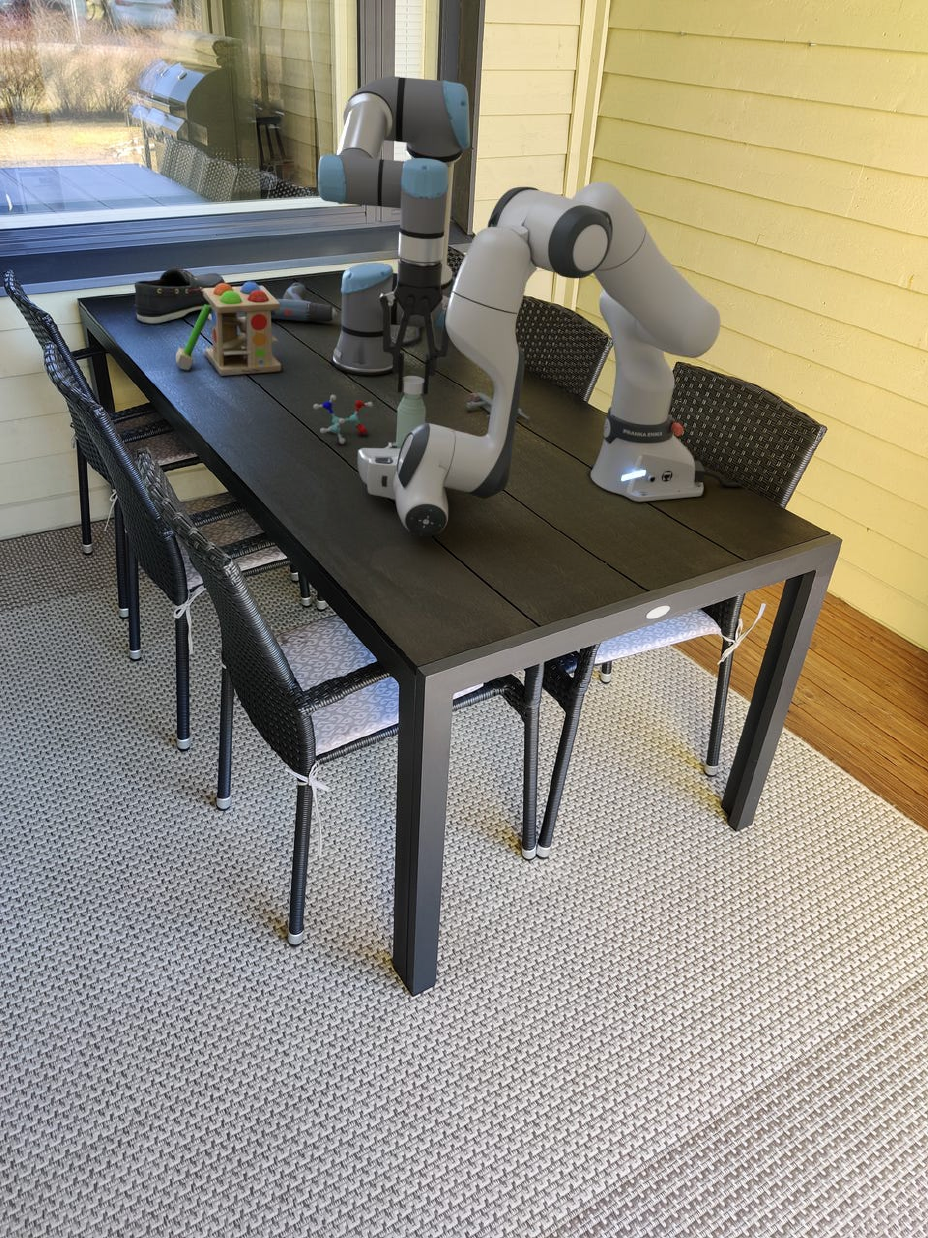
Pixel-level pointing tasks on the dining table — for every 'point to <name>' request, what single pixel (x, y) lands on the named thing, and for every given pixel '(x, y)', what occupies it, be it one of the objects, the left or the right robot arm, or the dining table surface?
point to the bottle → (409, 416)
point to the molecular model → (338, 421)
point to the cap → (413, 385)
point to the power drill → (301, 307)
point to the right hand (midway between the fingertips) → (408, 446)
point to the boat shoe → (172, 295)
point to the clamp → (485, 403)
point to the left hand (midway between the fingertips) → (412, 390)
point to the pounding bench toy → (229, 347)
